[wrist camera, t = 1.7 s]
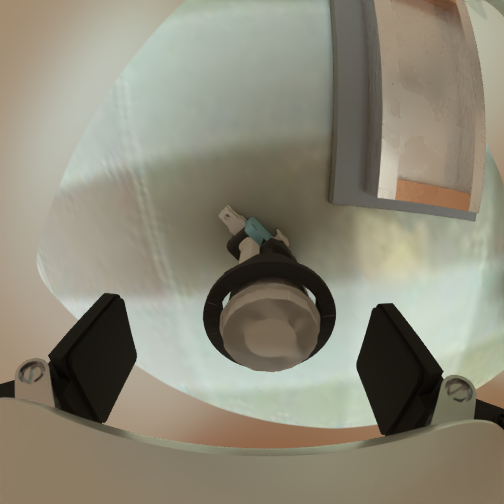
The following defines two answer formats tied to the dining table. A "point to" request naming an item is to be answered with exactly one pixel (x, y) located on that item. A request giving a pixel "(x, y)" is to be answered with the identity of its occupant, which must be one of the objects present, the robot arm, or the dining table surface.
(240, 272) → the round cylindrical fitting
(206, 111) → the dining table surface
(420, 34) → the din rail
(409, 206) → the panel
